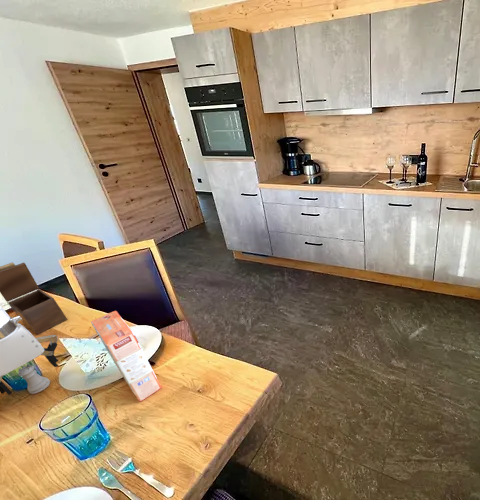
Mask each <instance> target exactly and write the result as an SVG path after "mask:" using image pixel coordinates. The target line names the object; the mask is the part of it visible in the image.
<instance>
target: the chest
mask: <svg viewBox="0 0 480 500" xmlns="http://www.w3.org/2000/svg"><path fill="white" fill-rule="evenodd" d="M7 304H8V306H9V307H10V308H11V310H12V311H13V312H14V313H15V314H16V316H20V317H21V318H22V320H20V321H21V322H22V325H23V326H25V327H27V328H28V329H29V330H30V331H31V332H33V333H34V334H35V335H37V336H39V335H40V334H42V333H44V332H46V331H48V330H50V329H52V328H54V327H56V326H58V325H60V324H62V323H64V322H67V321H68V317H67V316H66V314H65V313H64V311H63V310H62V309H61V307H60V306H59V304H58V302H57V301H56V300H55V299H54V297H53V296H51V295H50V294H48V293H47V292H45V291H43V290H41V289H40V288H39V289H38V290H35V291H33V292H30V293H28V294H25V295H23V296H21V297H18V298H16V299H13V300H11V301H9V302H7Z"/></svg>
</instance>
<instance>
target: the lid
mask: <svg viewBox="0 0 480 500" xmlns="http://www.w3.org/2000/svg"><path fill="white" fill-rule="evenodd" d="M39 289H40V287H39V286H38V283H37V282H36V280H35V278H34V277H33V275H32V273H31V271H30V270H29V268H28V266H27V265H26V262H21V263H18V264H15V263H14V262H9V263H6V264H3V265H1V266H0V294H1V296H2V297H3V299H4V300H5V302H7V303H8V302H10V301H12V300H15V299H17V298H20V297H22V296H25V295H27V294H29V293H32V292H34V291H37V290H39Z"/></svg>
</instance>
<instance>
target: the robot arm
mask: <svg viewBox="0 0 480 500" xmlns="http://www.w3.org/2000/svg"><path fill="white" fill-rule="evenodd" d="M21 320H22V318H21V317H20V316H17V315H16V316H13V317H12V316H10V315H9V314H8V313H7V312H6V310H5V309H4V308H3V306H2V305H1V304H0V394H2V395H3V394H4V393H6V394H7V395H8V396H11V395H12V393H13V392H12V391H11V389H10V388H9V387H8V386H7V385H6V384H5V383H4V382H3V381H2V379H3V377H4V376H6V375H8V374H9V373H11V372H13V371H15V370H17V369H20V368H21V367H23V366H25V365H27V363H30V362H31V361H33V360H35V359H36V358H38V357H40V356H44V357H45V358H46V359H47V361H48V362H49V363H50V364H51V366H53V367H54V368H57V367H59V365H58V363H57V362H59V359H58V358H57V357H56V355H55V351H56V350H57V349H56V348H57V346H58V341H59V340H58V339H59V336H58V335H57V334H50V335H43V336H38V337H35V336H34V334H32V333H31V331H30V330H28V329H27V328H26V326H25V325H23V324H21V323H19V322H20V321H21ZM47 342H49V343H48V345H47V347H44V346H43V345H42V344H43V343H47Z"/></svg>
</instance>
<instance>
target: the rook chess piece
mask: <svg viewBox="0 0 480 500" xmlns="http://www.w3.org/2000/svg"><path fill="white" fill-rule="evenodd" d="M25 365H26V366H25ZM25 365H22V367H19V368H18V370H17V372H18V373H17V375H18V376H19V377H22V379H23V380H25V381H26V383H27V388H26V390H27V392H28V393H29V394H31V395H36V394H40V393H42V392H43V391H45V390H46V389H48V387H49V386H50V384H51V379H49V377H46V376H42V375H41V374H39V373H37V370H35V368H36V367H35V365H32V364H25Z"/></svg>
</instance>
